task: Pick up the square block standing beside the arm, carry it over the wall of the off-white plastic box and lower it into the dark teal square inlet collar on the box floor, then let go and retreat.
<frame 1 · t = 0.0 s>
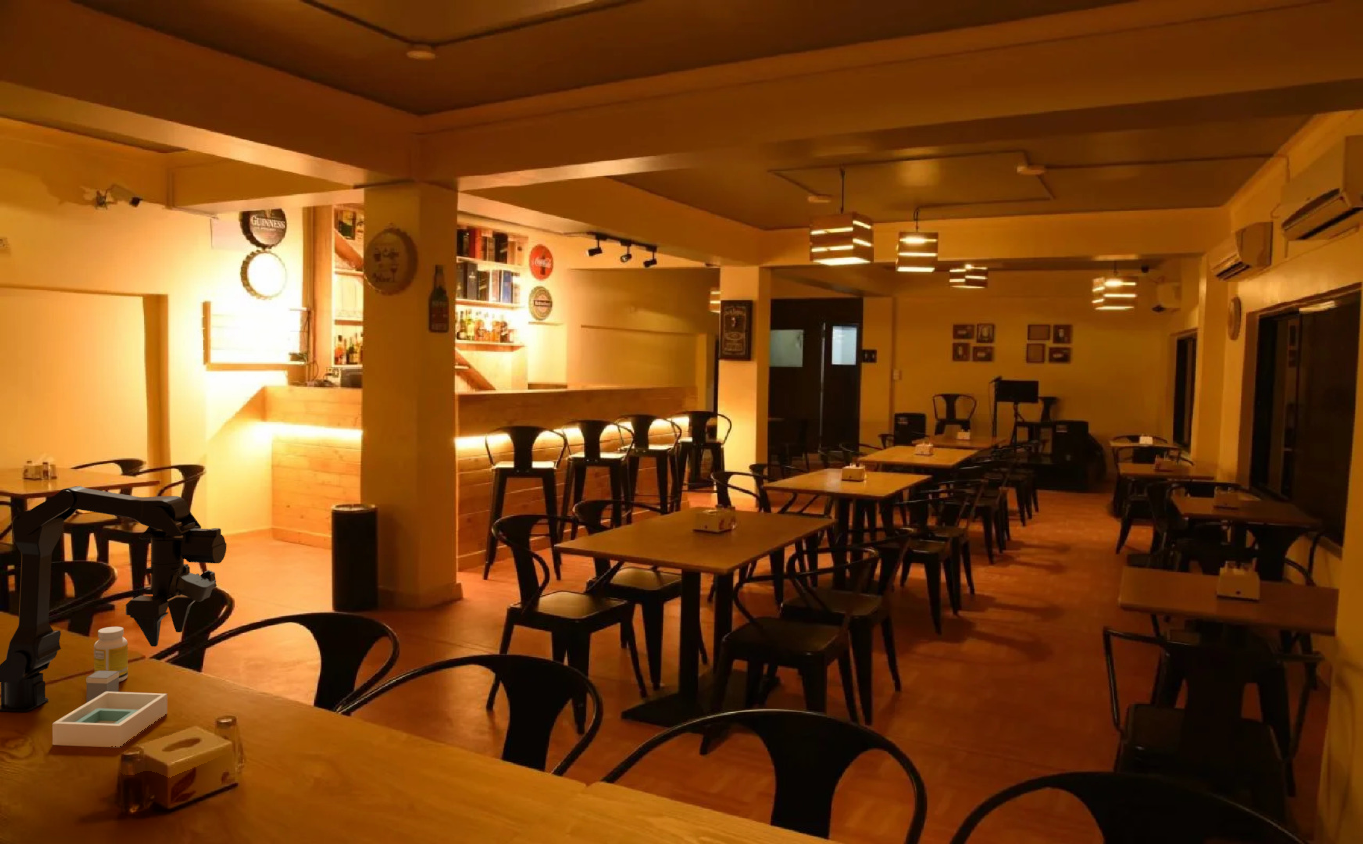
hand: (166, 639, 184), 15 cm above the table, fingers open, 9 cm apart
pill bottle: (111, 680, 201), on the table
square block: (102, 703, 188), on the table
walled box: (112, 728, 176), on the table
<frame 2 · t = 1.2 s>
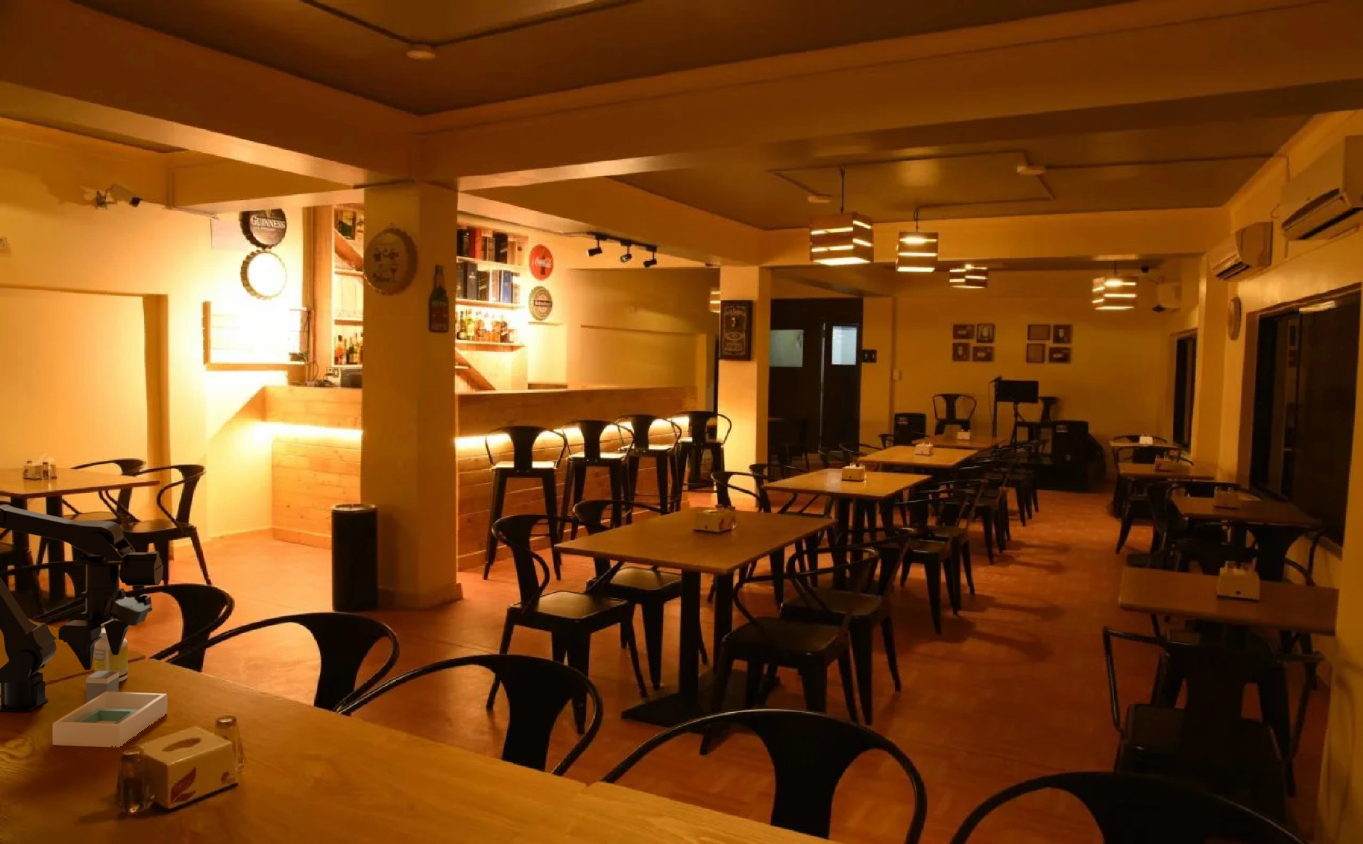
hand: (102, 662, 187), 8 cm above the table, fingers open, 9 cm apart
nothing on the table moved.
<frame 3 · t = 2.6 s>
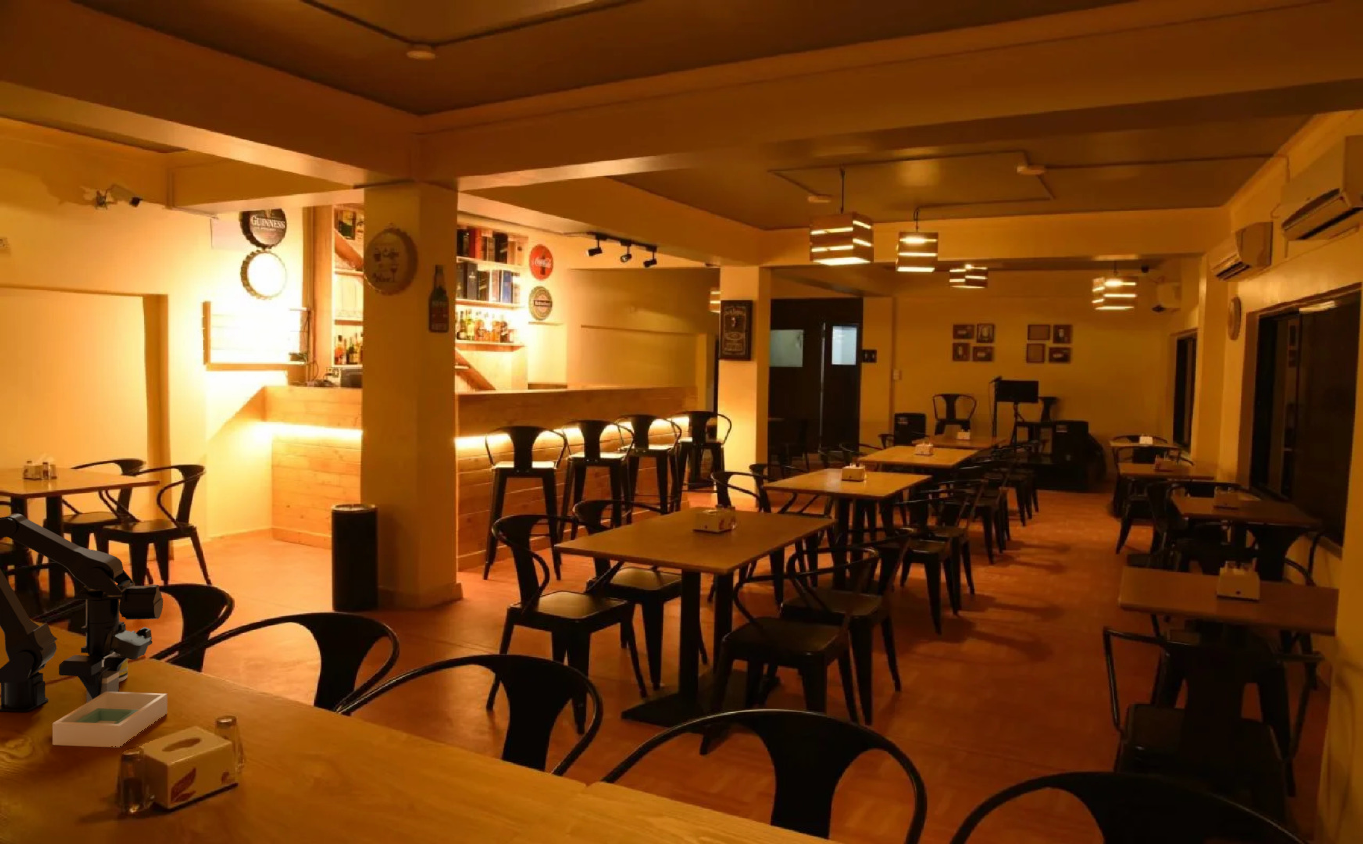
hand: (102, 695, 188), 2 cm above the table, fingers closed on square block, 4 cm apart
square block: (102, 703, 188), on the table, touching gripper
everything else where it was.
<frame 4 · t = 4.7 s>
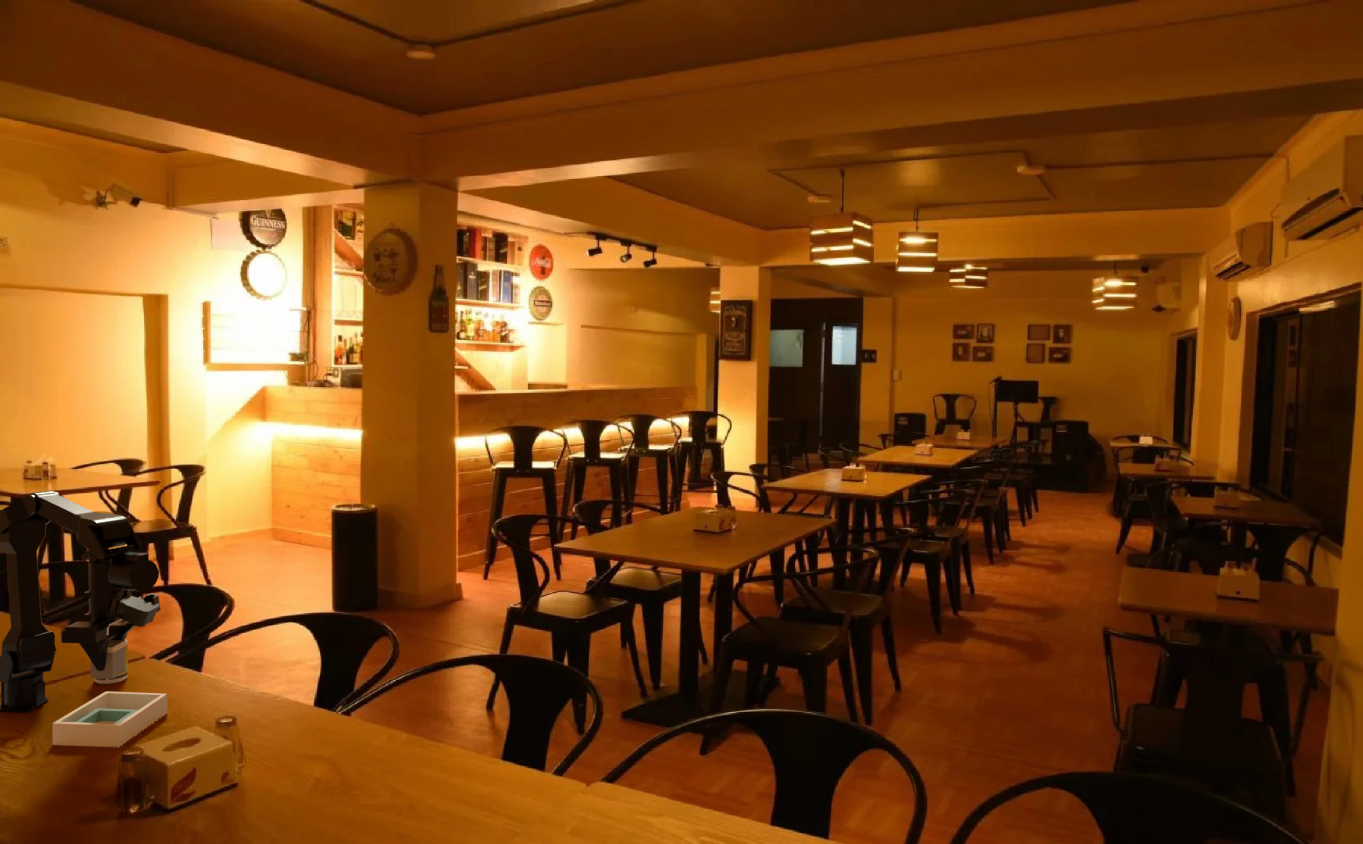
hand: (107, 666, 174), 12 cm above the table, fingers closed on square block, 4 cm apart
square block: (108, 674, 174), point 11 cm above the table, touching gripper
everything else where it was.
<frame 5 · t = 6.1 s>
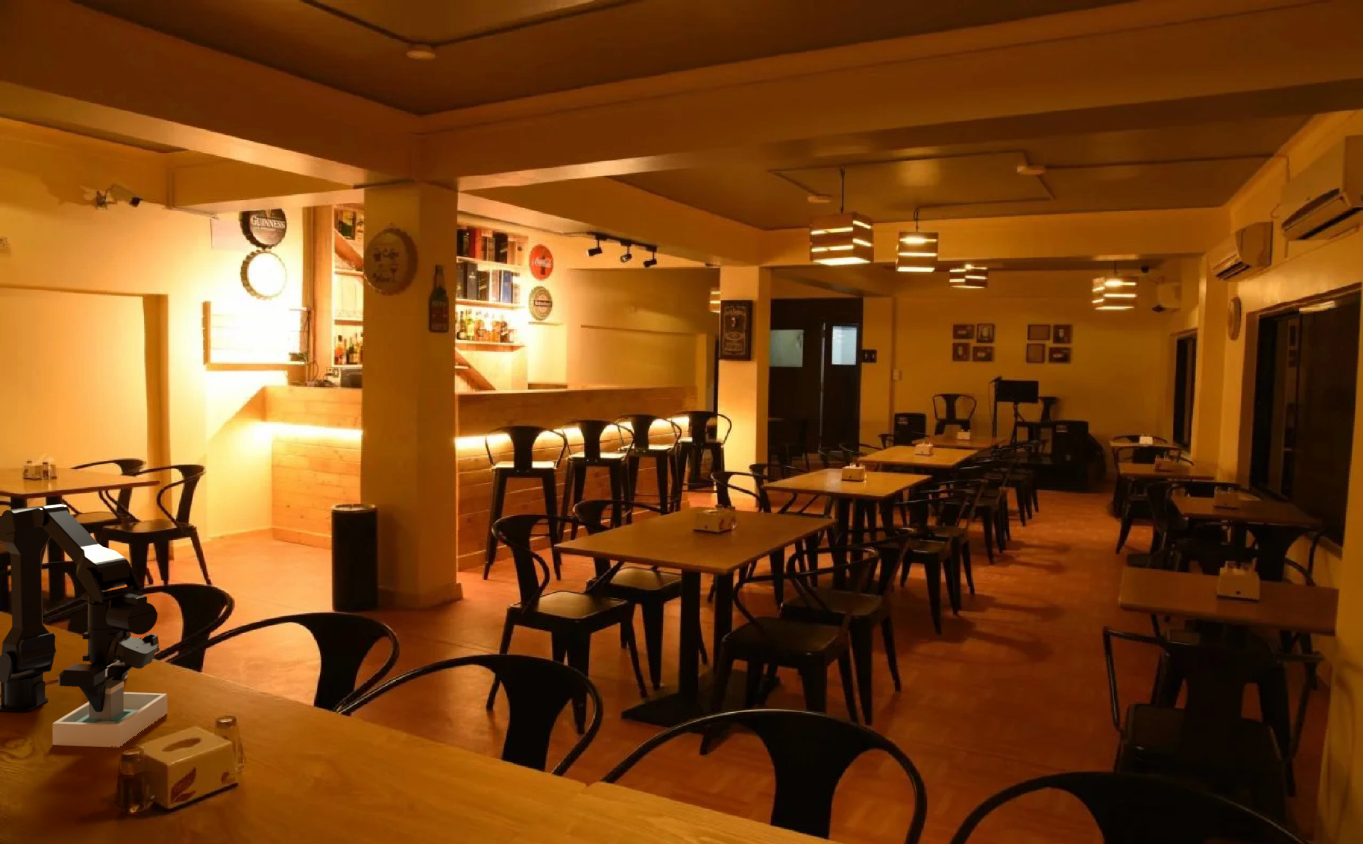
hand: (106, 707, 174), 5 cm above the table, fingers closed on square block, 4 cm apart
square block: (106, 715, 174), point 3 cm above the table, touching gripper
everything else where it was.
when the fingers open (4 cm above the table, at t = 7.0 s): square block drops 1 cm, resting on walled box.
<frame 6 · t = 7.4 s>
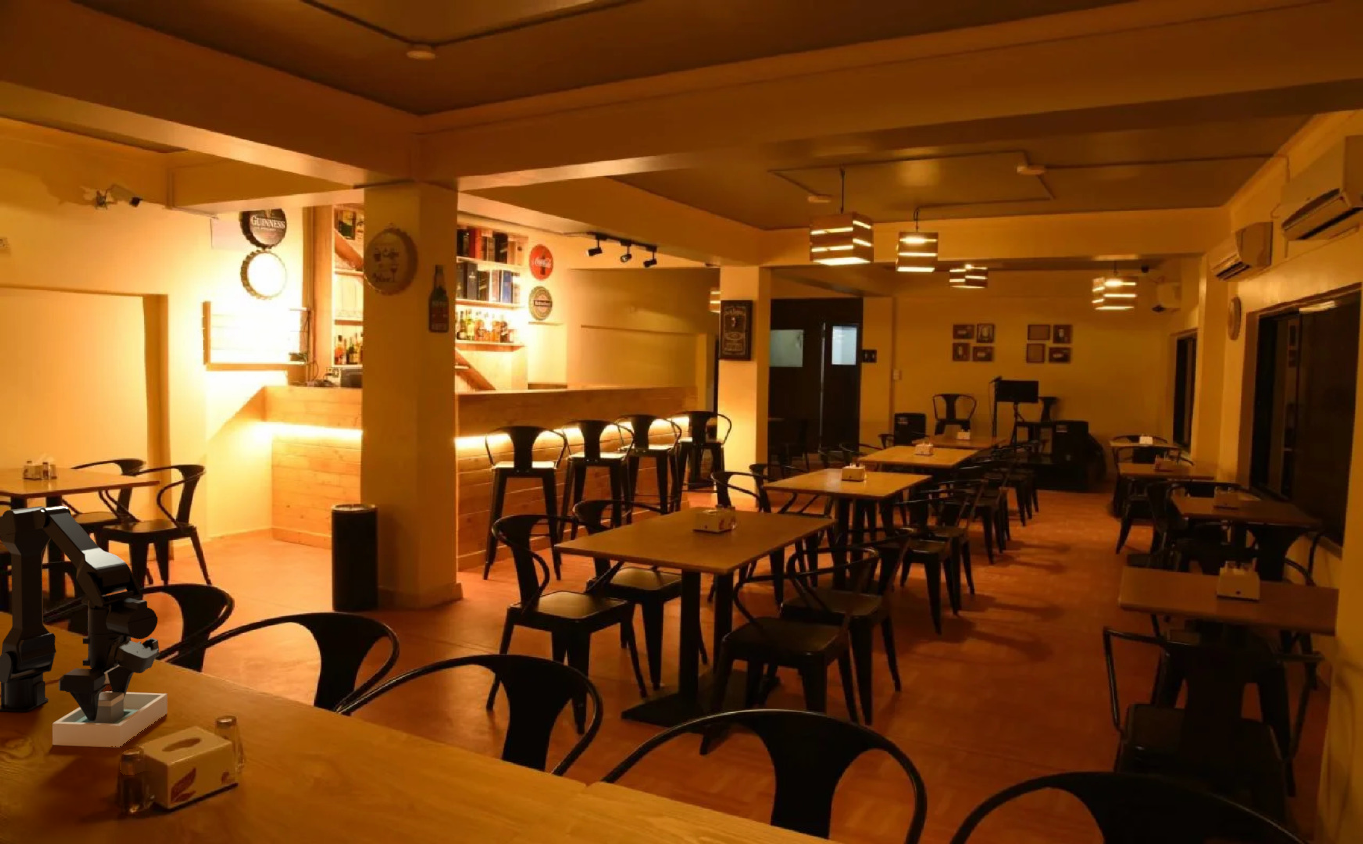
hand: (106, 711, 174), 4 cm above the table, fingers open, 8 cm apart
square block: (106, 727, 174), point 1 cm above the table, touching walled box
everything else where it was.
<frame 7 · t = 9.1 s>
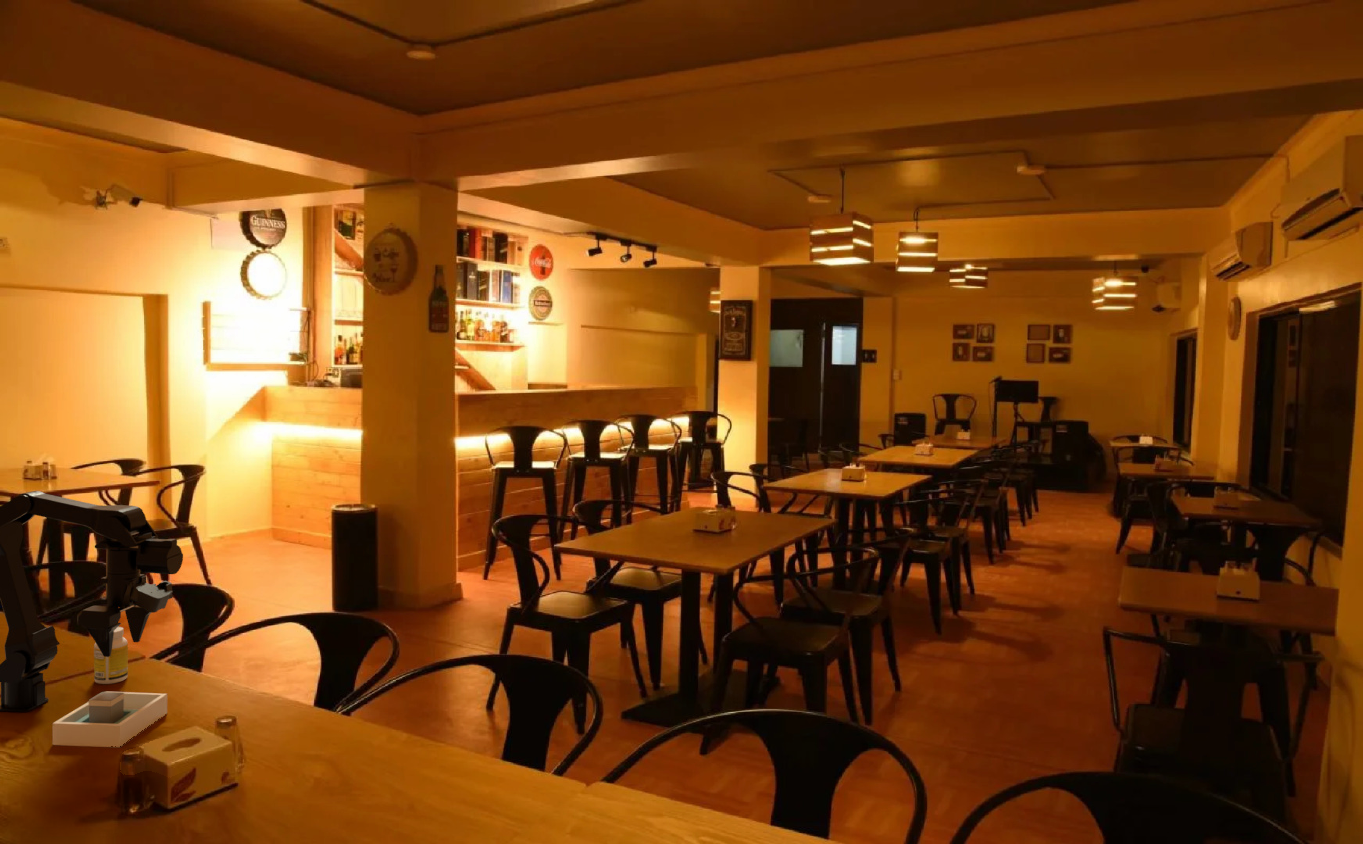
hand: (122, 649, 184), 12 cm above the table, fingers open, 9 cm apart
nothing on the table moved.
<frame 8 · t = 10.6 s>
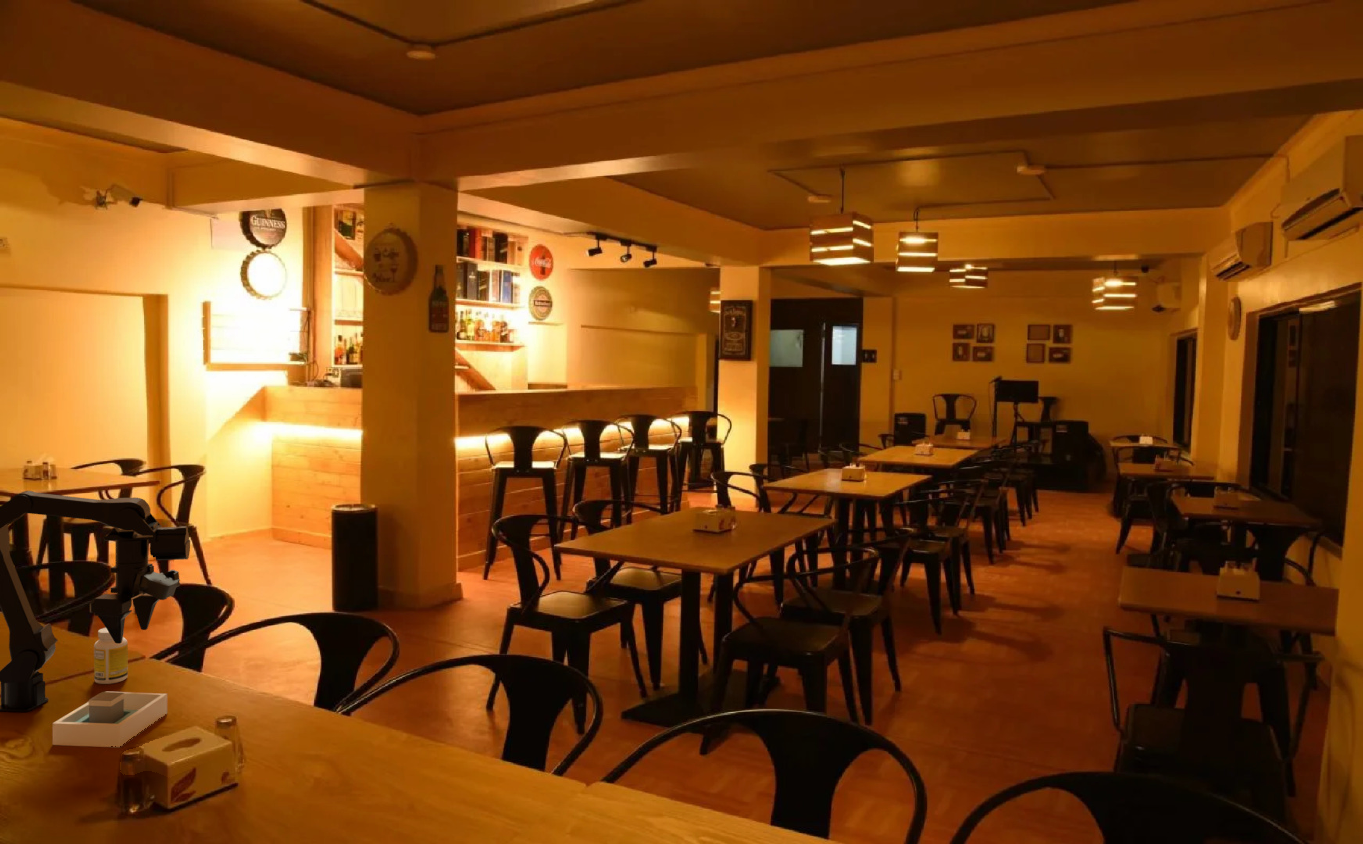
hand: (131, 636, 190), 13 cm above the table, fingers open, 9 cm apart
nothing on the table moved.
at the end: square block 0.0 cm from the target spot on the walled box, point 1.0 cm above the walled box's base; square block tilted 0°; the gripper is holding nothing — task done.
